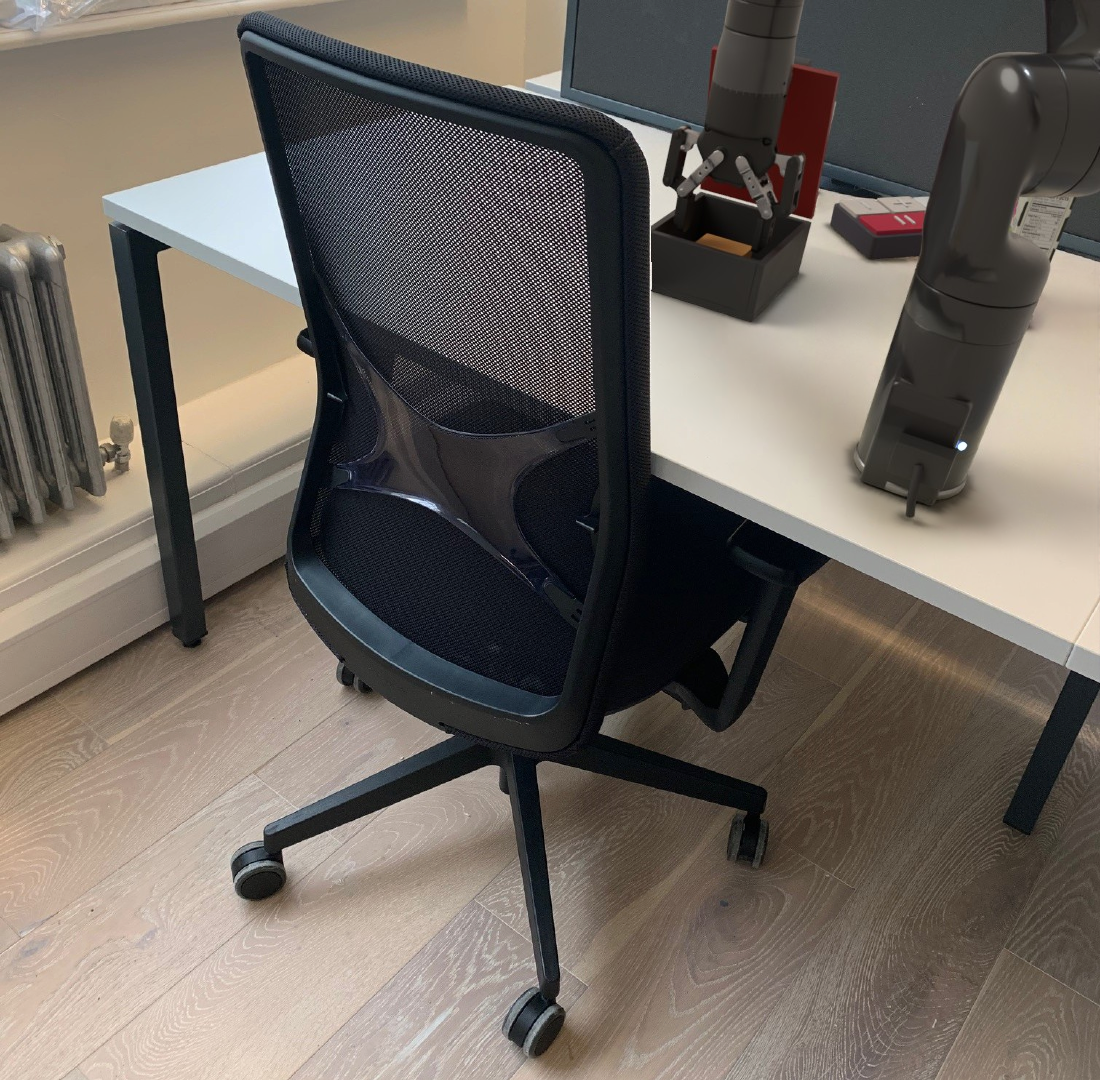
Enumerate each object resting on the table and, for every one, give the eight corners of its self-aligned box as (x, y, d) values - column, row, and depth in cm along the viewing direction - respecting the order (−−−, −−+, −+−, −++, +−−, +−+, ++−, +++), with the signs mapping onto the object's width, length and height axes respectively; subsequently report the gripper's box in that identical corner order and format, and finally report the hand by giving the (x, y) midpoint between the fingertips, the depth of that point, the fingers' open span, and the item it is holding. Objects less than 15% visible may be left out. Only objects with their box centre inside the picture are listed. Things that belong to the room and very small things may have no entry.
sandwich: (724, 298, 112) (730, 266, 110) (676, 283, 114) (682, 252, 112) (747, 277, 117) (753, 246, 115) (701, 263, 119) (707, 233, 117)
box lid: (837, 77, 104) (855, 53, 107) (711, 48, 108) (732, 26, 111) (811, 219, 117) (828, 195, 119) (699, 189, 121) (718, 166, 124)
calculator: (834, 197, 132) (939, 191, 135) (827, 229, 135) (930, 223, 138) (875, 231, 124) (987, 224, 127) (867, 265, 127) (976, 257, 130)
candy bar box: (968, 280, 124) (1019, 140, 114) (1011, 287, 124) (1066, 147, 114) (980, 320, 115) (1036, 172, 105) (1026, 328, 115) (1087, 180, 105)
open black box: (751, 322, 110) (764, 265, 106) (635, 285, 114) (644, 230, 110) (798, 274, 121) (811, 221, 117) (691, 243, 125) (700, 191, 122)
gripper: (669, 72, 102) (645, 233, 112) (808, 103, 97) (770, 268, 107) (698, 59, 107) (673, 214, 117) (831, 88, 103) (793, 247, 112)
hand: (719, 240), depth 112 cm, fingers open, 8 cm apart
